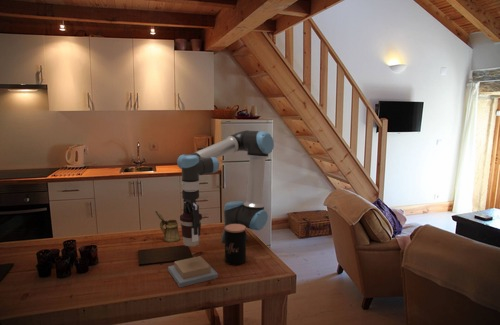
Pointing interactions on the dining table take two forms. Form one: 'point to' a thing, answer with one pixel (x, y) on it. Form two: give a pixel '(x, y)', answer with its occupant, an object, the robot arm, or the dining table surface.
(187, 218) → the coffee cup
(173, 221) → the brass coffee pot
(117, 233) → the dining table surface
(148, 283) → the dining table surface
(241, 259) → the coffee jar
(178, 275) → the base
